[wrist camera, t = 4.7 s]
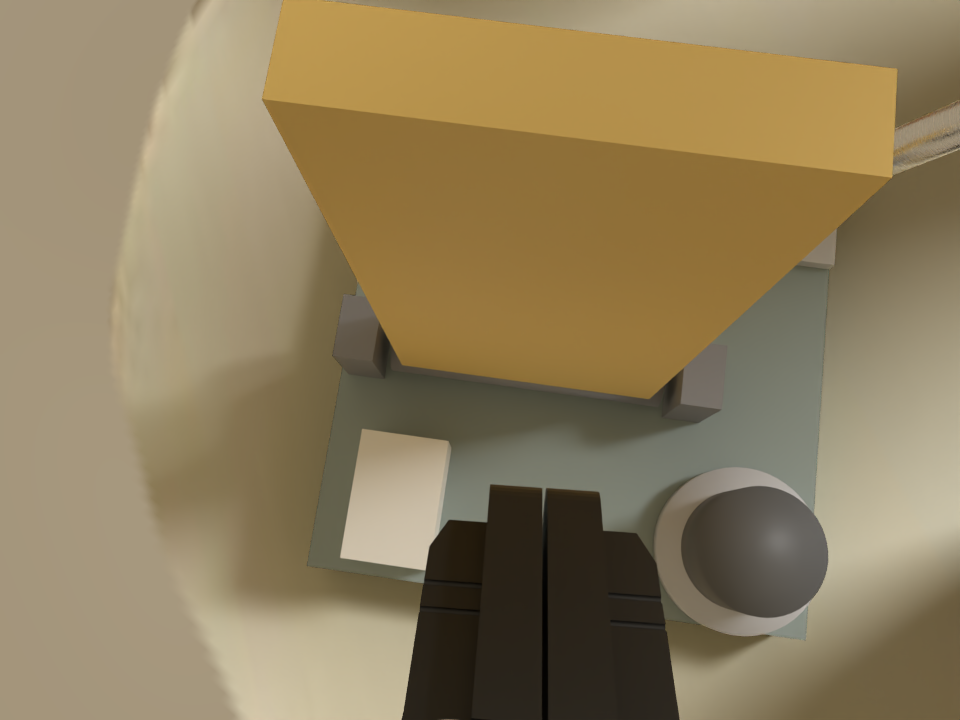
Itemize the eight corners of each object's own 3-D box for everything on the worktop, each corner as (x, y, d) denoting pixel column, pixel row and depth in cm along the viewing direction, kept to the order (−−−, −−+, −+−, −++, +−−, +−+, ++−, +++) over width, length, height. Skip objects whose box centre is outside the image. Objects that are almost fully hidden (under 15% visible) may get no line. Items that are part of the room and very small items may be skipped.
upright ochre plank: (402, 325, 23) (258, -16, 9) (658, 360, 23) (928, 63, 9) (394, 375, 23) (231, 103, 9) (653, 410, 23) (921, 191, 8)
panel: (400, 116, 27) (382, 34, 23) (815, 168, 27) (879, 94, 22) (321, 567, 24) (283, 573, 20) (783, 636, 24) (849, 658, 19)
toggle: (759, 158, 23) (1043, 18, 16) (809, 177, 24) (1103, 51, 17) (754, 220, 23) (1042, 105, 16) (805, 238, 24) (1103, 134, 17)
